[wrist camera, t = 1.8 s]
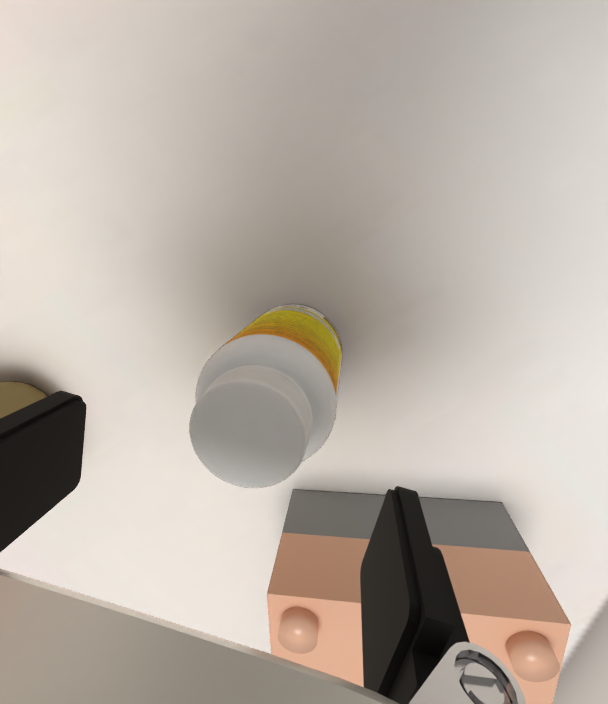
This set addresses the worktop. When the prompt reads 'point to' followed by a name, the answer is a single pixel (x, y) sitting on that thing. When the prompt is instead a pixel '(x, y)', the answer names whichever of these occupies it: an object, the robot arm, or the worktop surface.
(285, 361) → the supplement bottle
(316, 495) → the pink and grey block
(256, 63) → the worktop surface
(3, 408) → the squeeze bottle
